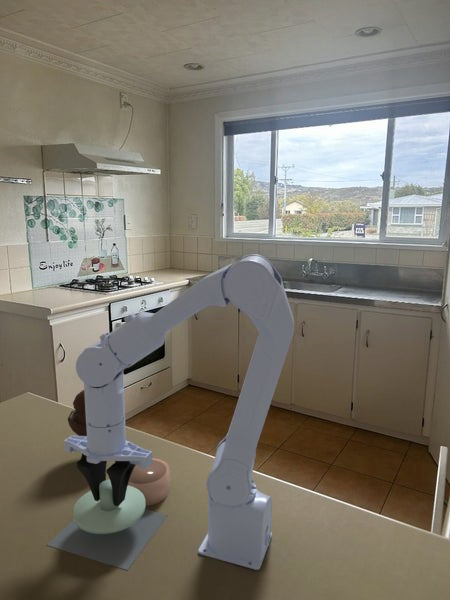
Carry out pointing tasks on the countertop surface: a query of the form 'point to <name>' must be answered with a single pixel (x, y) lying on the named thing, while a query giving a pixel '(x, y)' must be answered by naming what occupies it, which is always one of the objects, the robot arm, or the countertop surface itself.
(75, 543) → the placemat
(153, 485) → the dish
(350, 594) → the countertop surface
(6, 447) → the countertop surface
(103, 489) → the lid
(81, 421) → the ice cream bowl
